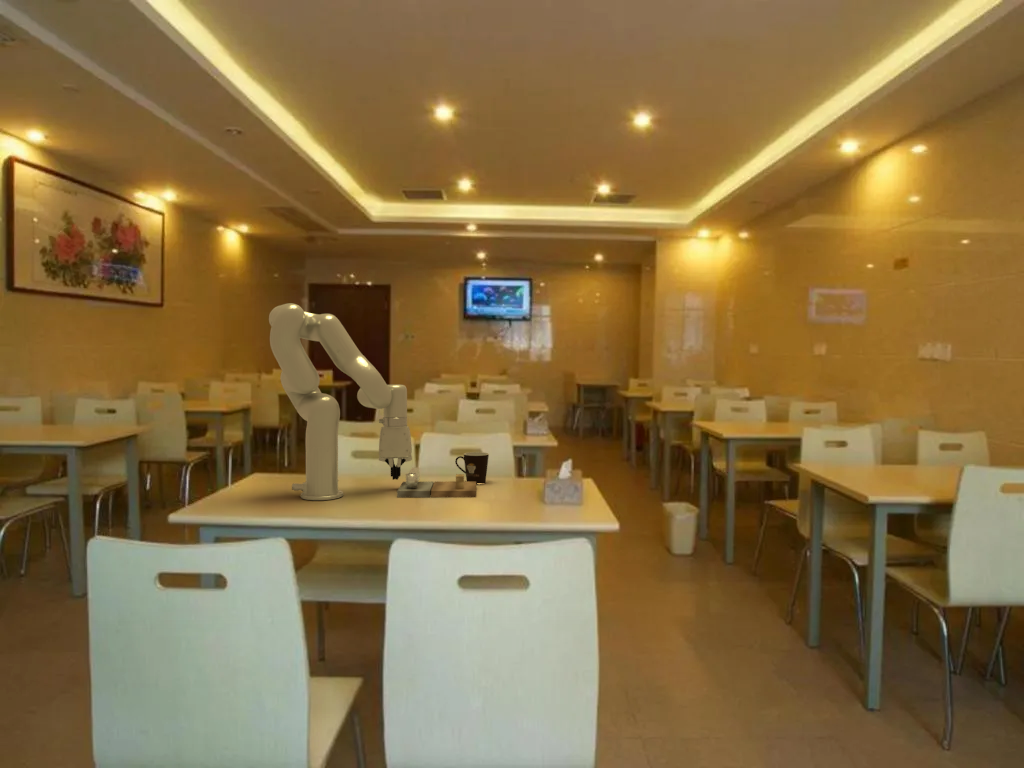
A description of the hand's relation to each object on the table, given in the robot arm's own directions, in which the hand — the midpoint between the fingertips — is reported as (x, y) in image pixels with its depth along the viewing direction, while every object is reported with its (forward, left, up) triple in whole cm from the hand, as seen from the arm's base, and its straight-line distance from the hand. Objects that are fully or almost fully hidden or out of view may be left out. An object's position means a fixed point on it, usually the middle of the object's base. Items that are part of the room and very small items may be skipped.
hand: (395, 478), depth 224 cm
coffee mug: (+25, +12, -4) cm, 28 cm away
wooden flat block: (+14, -6, -3) cm, 16 cm away
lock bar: (+6, -3, -1) cm, 7 cm away
